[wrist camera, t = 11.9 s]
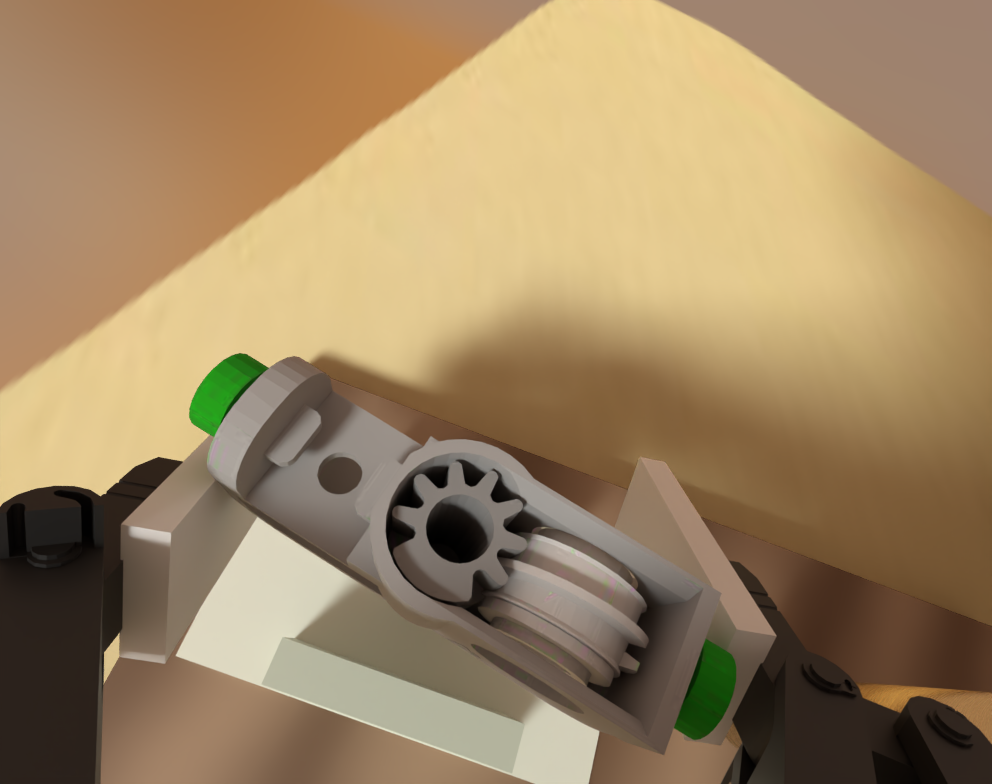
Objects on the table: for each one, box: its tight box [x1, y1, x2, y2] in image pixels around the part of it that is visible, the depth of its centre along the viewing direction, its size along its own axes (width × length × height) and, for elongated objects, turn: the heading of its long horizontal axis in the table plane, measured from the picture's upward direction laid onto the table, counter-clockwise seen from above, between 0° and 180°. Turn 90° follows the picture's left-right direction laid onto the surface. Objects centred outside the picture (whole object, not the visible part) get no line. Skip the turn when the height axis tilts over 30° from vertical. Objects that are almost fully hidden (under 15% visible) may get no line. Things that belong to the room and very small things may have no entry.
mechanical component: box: [189, 353, 736, 755], centre depth 14 cm, size 3×10×10 cm, turn 60°
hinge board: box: [101, 378, 992, 784], centre depth 15 cm, size 30×16×12 cm, turn 72°
